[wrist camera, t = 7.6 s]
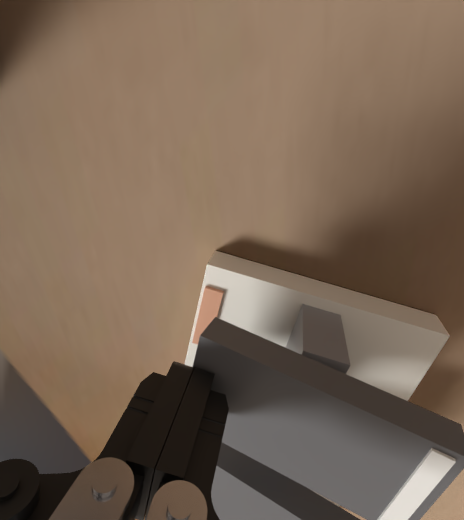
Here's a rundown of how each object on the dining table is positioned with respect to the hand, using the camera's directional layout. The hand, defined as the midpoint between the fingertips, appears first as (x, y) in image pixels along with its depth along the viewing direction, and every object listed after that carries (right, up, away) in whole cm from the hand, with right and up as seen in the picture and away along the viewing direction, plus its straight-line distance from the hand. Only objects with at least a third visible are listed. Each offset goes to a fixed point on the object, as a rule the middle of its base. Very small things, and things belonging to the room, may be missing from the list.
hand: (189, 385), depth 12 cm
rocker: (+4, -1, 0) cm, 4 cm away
